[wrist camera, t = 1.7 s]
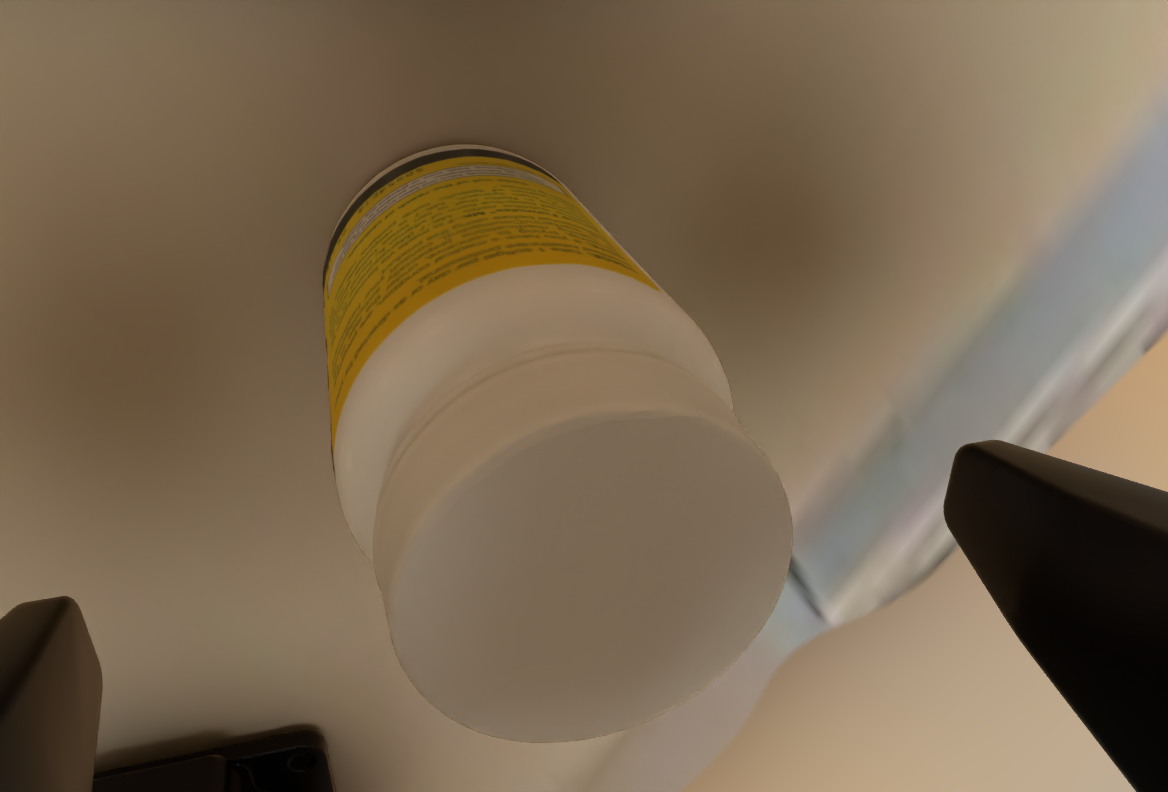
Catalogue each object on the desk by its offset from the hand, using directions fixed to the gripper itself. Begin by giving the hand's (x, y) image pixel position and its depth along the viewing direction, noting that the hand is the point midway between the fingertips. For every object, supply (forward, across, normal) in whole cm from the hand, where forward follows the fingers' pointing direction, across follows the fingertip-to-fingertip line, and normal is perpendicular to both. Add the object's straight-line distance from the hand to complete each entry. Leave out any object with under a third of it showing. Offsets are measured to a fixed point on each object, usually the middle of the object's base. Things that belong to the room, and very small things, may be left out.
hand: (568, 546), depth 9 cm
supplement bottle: (+8, 0, 0) cm, 8 cm away
